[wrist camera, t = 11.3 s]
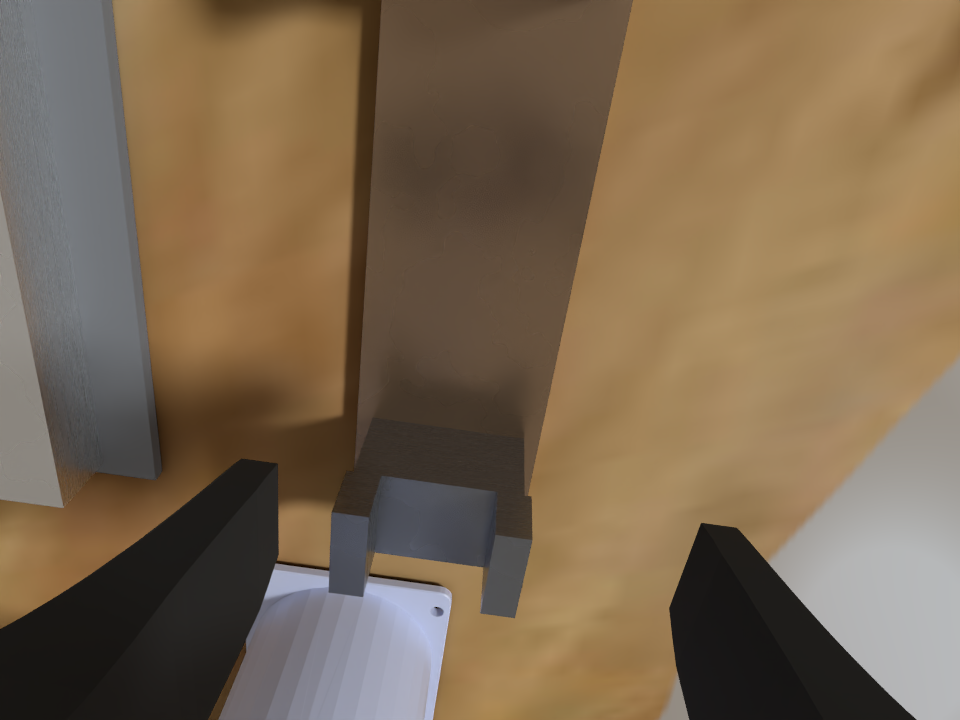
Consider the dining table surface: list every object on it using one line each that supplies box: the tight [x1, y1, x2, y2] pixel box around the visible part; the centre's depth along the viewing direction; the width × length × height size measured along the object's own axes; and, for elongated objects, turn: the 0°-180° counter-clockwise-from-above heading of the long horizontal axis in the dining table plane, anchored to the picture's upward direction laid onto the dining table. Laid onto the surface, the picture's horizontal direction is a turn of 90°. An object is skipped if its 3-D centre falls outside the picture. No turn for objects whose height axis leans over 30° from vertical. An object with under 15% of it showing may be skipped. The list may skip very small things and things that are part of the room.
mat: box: [31, 0, 162, 480], centre depth 20 cm, size 21×6×1 cm, turn 172°
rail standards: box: [328, 0, 633, 618], centre depth 18 cm, size 21×6×5 cm, turn 172°
